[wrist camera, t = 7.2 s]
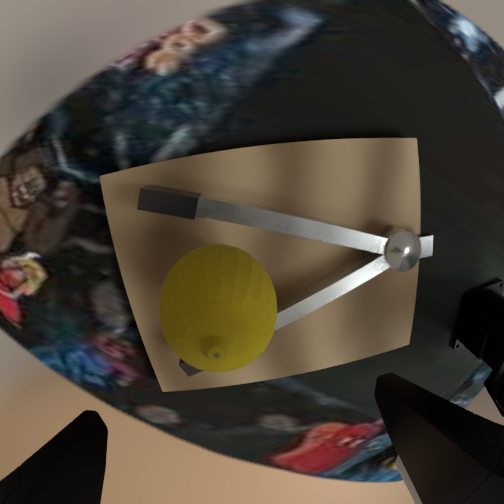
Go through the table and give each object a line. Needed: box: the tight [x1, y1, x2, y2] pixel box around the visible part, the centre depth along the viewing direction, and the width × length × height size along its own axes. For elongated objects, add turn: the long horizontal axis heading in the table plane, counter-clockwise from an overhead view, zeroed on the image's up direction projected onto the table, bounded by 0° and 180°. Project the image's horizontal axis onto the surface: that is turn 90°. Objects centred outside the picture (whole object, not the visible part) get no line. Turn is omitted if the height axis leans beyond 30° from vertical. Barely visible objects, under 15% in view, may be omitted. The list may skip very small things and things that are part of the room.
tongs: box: [137, 185, 433, 377], centre depth 17 cm, size 17×12×2 cm
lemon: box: [159, 244, 277, 373], centre depth 14 cm, size 6×6×8 cm
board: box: [100, 138, 420, 392], centre depth 19 cm, size 20×16×1 cm
